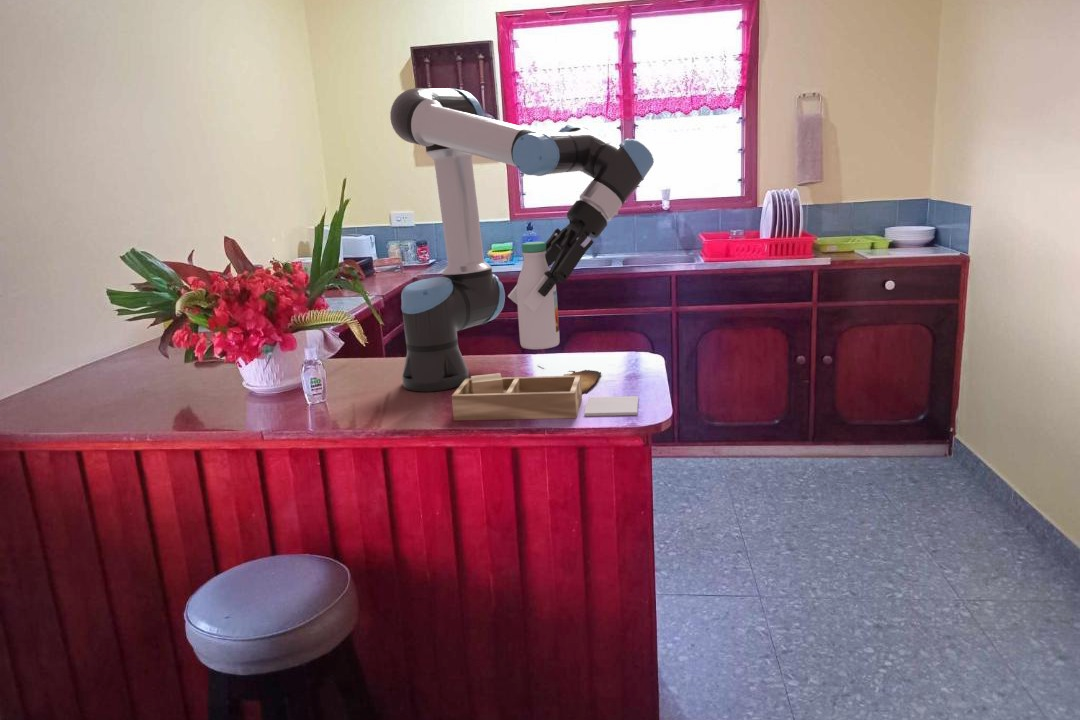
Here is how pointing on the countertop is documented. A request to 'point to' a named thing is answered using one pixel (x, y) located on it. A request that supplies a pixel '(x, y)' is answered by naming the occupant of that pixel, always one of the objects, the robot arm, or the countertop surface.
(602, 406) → the coaster
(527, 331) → the milk bottle
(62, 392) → the countertop surface
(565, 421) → the countertop surface
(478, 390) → the offcut top
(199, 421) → the countertop surface
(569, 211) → the robot arm
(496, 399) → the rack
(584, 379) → the parchment
